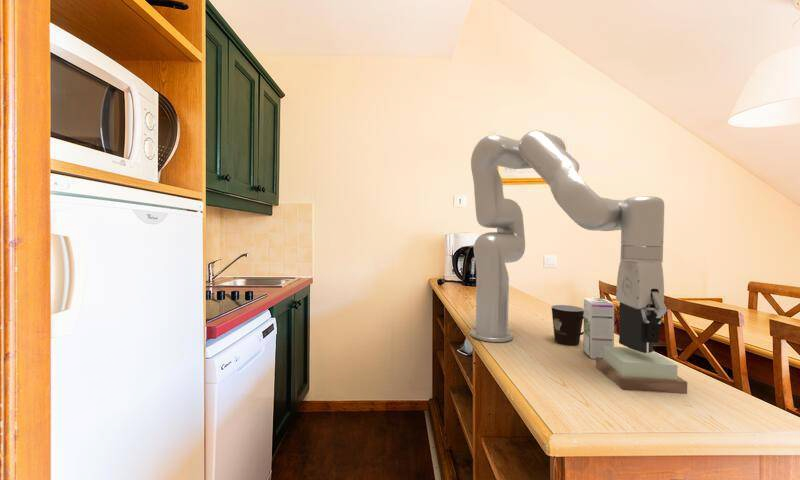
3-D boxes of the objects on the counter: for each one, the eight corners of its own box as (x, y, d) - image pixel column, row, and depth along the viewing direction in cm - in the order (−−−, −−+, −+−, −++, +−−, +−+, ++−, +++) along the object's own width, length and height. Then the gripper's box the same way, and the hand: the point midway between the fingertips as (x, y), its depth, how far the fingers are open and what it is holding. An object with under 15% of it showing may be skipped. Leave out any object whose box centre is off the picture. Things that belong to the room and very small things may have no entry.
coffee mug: (547, 336, 106) (547, 304, 105) (577, 338, 104) (577, 305, 104) (559, 349, 94) (559, 313, 94) (592, 351, 93) (593, 314, 93)
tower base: (595, 369, 82) (596, 357, 82) (650, 372, 81) (650, 359, 81) (622, 393, 70) (623, 378, 70) (686, 397, 69) (687, 382, 69)
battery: (660, 353, 72) (661, 299, 72) (644, 354, 72) (646, 299, 71) (631, 343, 79) (633, 293, 79) (617, 343, 79) (618, 293, 78)
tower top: (602, 358, 81) (602, 346, 81) (649, 361, 80) (649, 348, 80) (623, 376, 71) (623, 361, 71) (677, 380, 70) (677, 365, 70)
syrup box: (614, 360, 87) (616, 302, 86) (588, 358, 88) (590, 301, 87) (605, 352, 92) (607, 298, 92) (581, 351, 93) (583, 297, 93)
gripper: (603, 252, 84) (601, 325, 84) (646, 257, 67) (644, 349, 67) (636, 252, 83) (634, 326, 83) (689, 257, 66) (686, 351, 66)
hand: (638, 335), depth 75 cm, fingers closed on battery, 6 cm apart
